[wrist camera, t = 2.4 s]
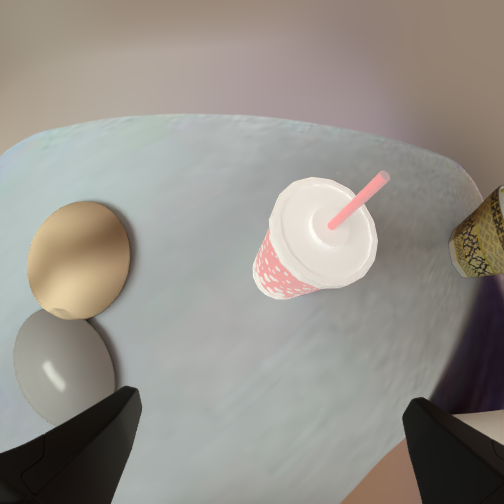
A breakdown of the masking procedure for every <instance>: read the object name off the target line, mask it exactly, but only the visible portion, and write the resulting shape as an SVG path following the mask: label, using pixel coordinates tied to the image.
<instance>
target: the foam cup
mask: <svg viewBox="0 0 504 504" xmlns="http://www.w3.org/2000/svg"><path fill="white" fill-rule="evenodd" d="M453 416H455V417H456V418H458V419H459V420H461V421H463V422H464V423H466V424H468V425H470V426H471V427H473V428H475V429H476V430H478V431H480V432H481V433H483V434H485V435H487V436H488V437H490V438H491V439H494V440H495V441H497V442H499V443H501V444H503V445H504V410H498V411H490V412H481V413H469V414H456V415H453Z"/></svg>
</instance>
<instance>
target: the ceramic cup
mask: <svg viewBox="0 0 504 504" xmlns="http://www.w3.org/2000/svg"><path fill="white" fill-rule="evenodd" d="M448 246H449V251H450V256H451V261H452V264H453V265H454V266H455V268H456V269H457V271H458V272H459V274H460V275H461V277H463V278H474V277H482V276H488V275H495V274H504V185H501V186H499V187H498V188H497V189H496V190H495V191H494V192H493V193H492V194H491V195H490V196H489V197H488V198H487V199H486V200H484V201H483V203H482V204H481V205H480V206H479V207H478V208H477V209H476V210H475V211H474V212H473V213H472V214H471V215H469V216H468V217H467V218H466V219H465V220H464V221H463V222H462V223H461V224H460V225H458V226H457V227H456V228H455V229H454V230H453V232H452V235H451V238H450V240H449V243H448Z"/></svg>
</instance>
